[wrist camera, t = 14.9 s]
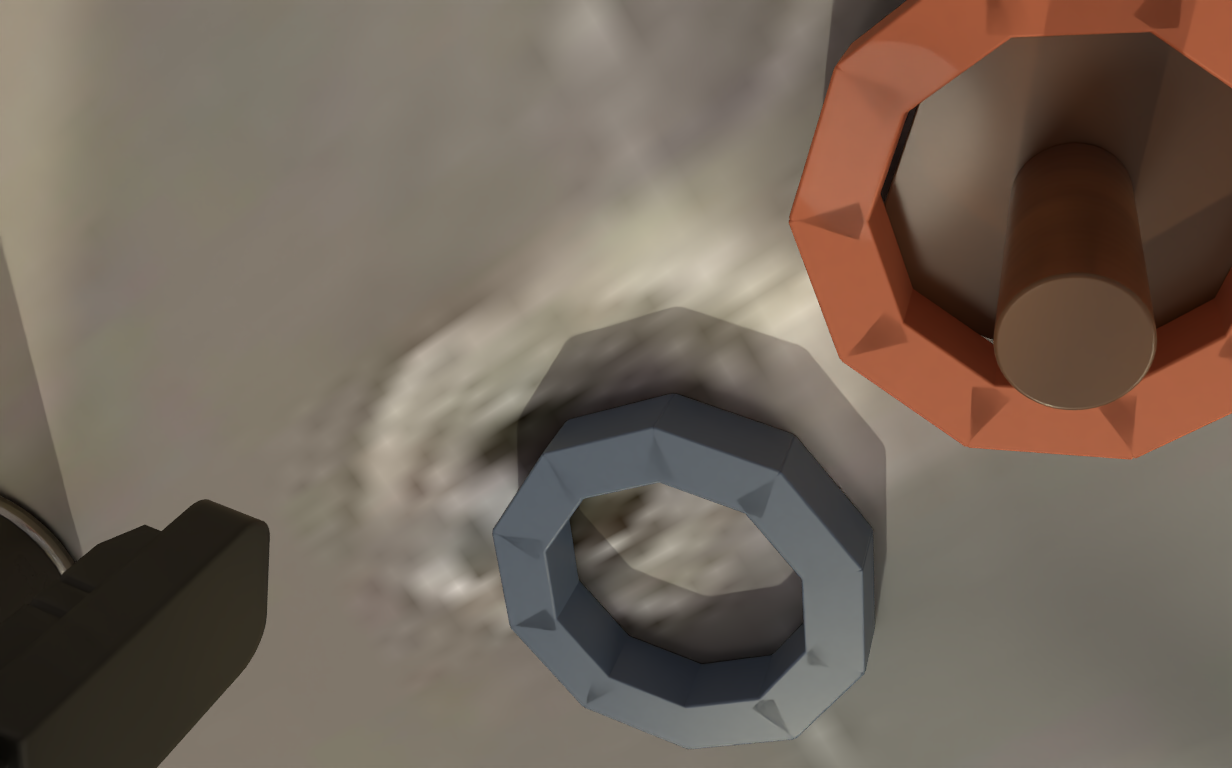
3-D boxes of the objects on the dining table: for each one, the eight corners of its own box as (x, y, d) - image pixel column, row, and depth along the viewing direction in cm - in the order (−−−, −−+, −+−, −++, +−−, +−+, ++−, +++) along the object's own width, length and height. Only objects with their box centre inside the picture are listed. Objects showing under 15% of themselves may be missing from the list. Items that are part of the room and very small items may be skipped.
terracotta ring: (760, 335, 35) (742, 370, 33) (908, -148, 28) (896, -140, 26) (1198, 483, 33) (1207, 531, 31) (1482, -1, 25) (1518, 20, 23)
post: (861, 276, 35) (793, 451, 26) (964, -30, 30) (924, 58, 21) (1166, 372, 33) (1204, 594, 24) (1326, 64, 28) (1444, 202, 20)
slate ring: (822, 752, 44) (810, 799, 42) (495, 622, 46) (469, 661, 44) (935, 482, 37) (928, 523, 35) (545, 347, 39) (517, 378, 37)
